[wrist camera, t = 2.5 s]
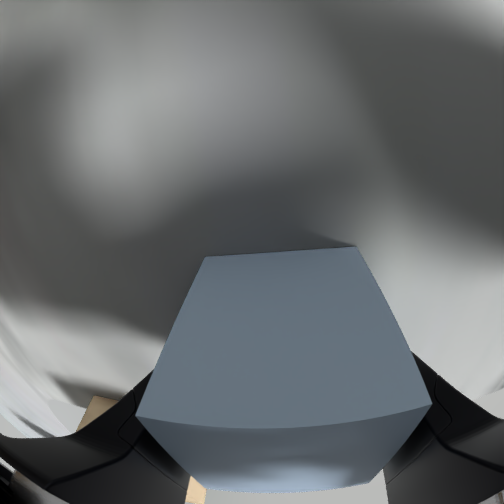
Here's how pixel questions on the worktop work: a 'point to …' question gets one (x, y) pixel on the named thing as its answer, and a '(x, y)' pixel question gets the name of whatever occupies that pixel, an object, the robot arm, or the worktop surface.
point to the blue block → (284, 375)
